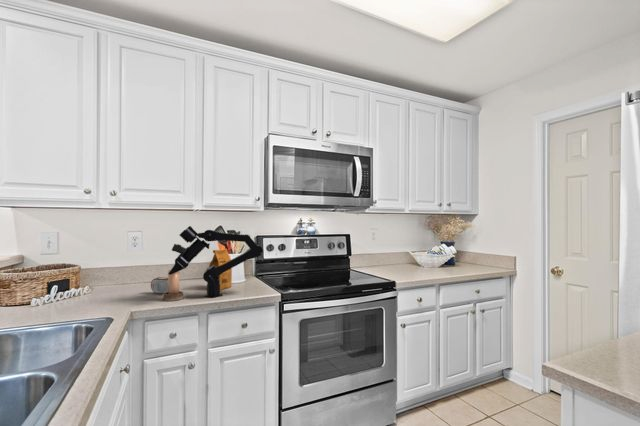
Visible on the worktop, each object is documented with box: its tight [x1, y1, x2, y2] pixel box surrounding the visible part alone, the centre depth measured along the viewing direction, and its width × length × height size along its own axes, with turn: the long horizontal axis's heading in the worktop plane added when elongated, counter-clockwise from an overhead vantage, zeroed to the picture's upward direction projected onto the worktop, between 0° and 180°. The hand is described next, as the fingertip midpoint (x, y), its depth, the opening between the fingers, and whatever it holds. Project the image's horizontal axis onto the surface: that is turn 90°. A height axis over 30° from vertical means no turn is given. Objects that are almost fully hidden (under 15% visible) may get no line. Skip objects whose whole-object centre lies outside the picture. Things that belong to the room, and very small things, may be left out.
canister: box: [167, 269, 180, 295], centre depth 162 cm, size 5×5×13 cm
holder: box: [162, 290, 184, 302], centre depth 162 cm, size 9×9×3 cm
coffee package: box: [208, 248, 233, 291], centre depth 187 cm, size 10×12×22 cm
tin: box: [150, 276, 168, 295], centre depth 175 cm, size 15×3×8 cm, turn 74°
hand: (170, 272), depth 162 cm, fingers open, 9 cm apart
